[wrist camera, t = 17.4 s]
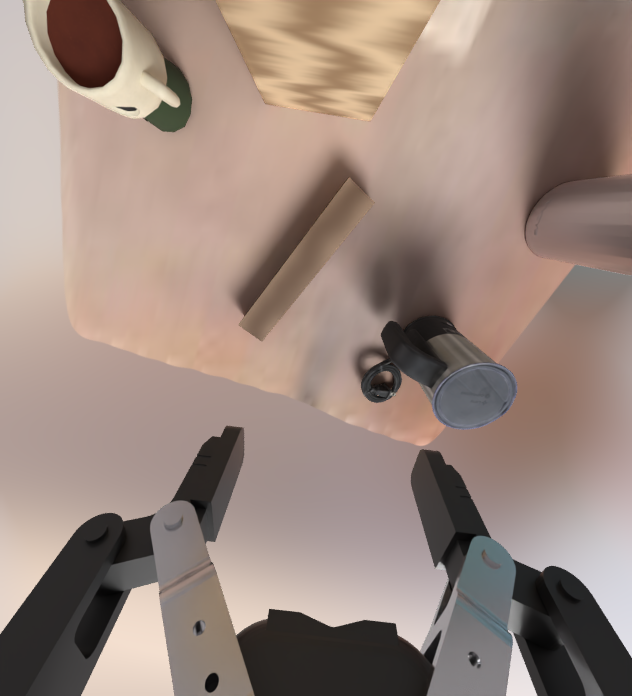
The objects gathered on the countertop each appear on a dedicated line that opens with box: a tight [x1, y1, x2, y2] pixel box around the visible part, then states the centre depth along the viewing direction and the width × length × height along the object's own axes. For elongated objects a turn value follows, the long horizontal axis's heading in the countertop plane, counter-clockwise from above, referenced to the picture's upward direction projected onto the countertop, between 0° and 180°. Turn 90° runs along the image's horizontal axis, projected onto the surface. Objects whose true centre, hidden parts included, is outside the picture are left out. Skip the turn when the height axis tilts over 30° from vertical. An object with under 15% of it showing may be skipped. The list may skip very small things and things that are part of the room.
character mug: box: [23, 0, 192, 132], centre depth 26 cm, size 11×7×13 cm, turn 59°
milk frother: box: [361, 316, 517, 430], centre depth 39 cm, size 14×16×15 cm
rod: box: [239, 177, 375, 341], centre depth 38 cm, size 4×23×4 cm, turn 141°
